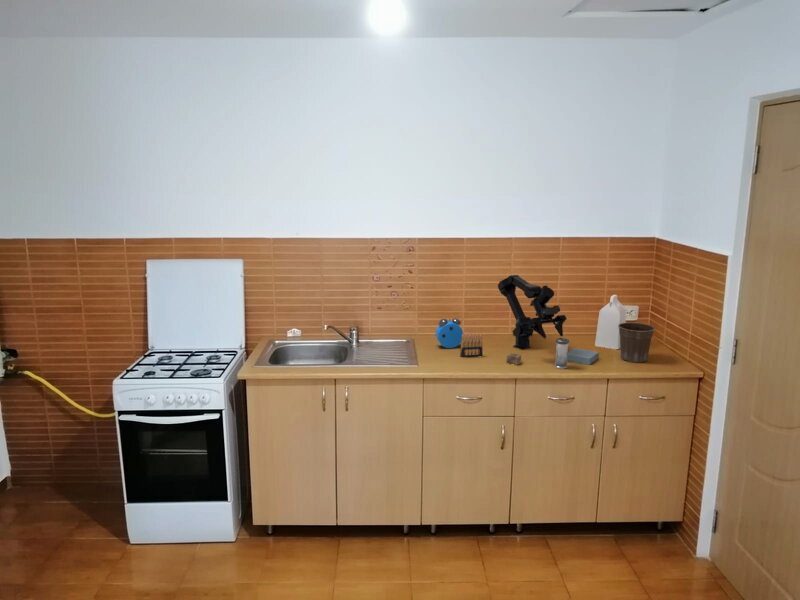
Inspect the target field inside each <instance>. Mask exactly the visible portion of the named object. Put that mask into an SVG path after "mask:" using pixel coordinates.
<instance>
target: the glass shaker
mask: <svg viewBox="0 0 800 600" xmlns="http://www.w3.org/2000/svg"><path fill="white" fill-rule="evenodd" d="M555 342H556V346H555V347H556V348H555V362H554V365H553V367H554V366H555V367H556V369H560V370H565V369H568V360H567V356H568V352H569V343H570V339H568V338H565V337H557V338H556V339H555ZM555 367H554V368H555Z"/></svg>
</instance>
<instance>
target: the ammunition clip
mask: <svg viewBox="0 0 800 600" xmlns="http://www.w3.org/2000/svg"><path fill="white" fill-rule="evenodd" d="M468 335H469V336H468ZM459 356H460V358H461V357H467V358H479V357H478V356H483V334H482V332H480V334H479V332H476V334H475V332H473V333H471V332H470V333H469V334H468V332H467V333H465V334H464V333H463V334H462V341H461V343H460V353H459Z"/></svg>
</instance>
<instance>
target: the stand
mask: <svg viewBox="0 0 800 600" xmlns="http://www.w3.org/2000/svg"><path fill="white" fill-rule="evenodd" d="M599 354H600V352H598V351H593V350H589V349H582V348H577V347H574V348H572V349H570V350H568V356H567V362H568V361H569V362H573V363H578V364H583V365H587V366H590V365H592V364H593V363H594V362H595V361H598V359H599Z"/></svg>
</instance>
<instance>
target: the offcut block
mask: <svg viewBox="0 0 800 600" xmlns="http://www.w3.org/2000/svg"><path fill="white" fill-rule="evenodd" d="M520 362H521V363H522V354H520V353H519V354H518V353H513V352H510V353H509V354H508V355H506V364H507V363H509V364H508V365H511V364H514V365H513V366H519V363H520ZM521 363H520V364H521Z"/></svg>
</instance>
